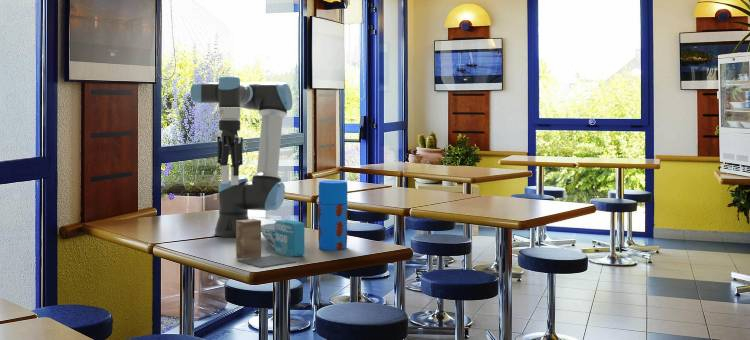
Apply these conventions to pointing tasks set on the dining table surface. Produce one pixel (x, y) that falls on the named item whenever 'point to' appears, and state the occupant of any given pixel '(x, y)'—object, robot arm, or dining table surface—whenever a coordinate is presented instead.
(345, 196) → the thermos
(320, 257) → the dining table surface
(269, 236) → the chinaware
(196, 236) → the dining table surface
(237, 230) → the block
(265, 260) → the mat
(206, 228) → the dining table surface
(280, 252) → the data package
